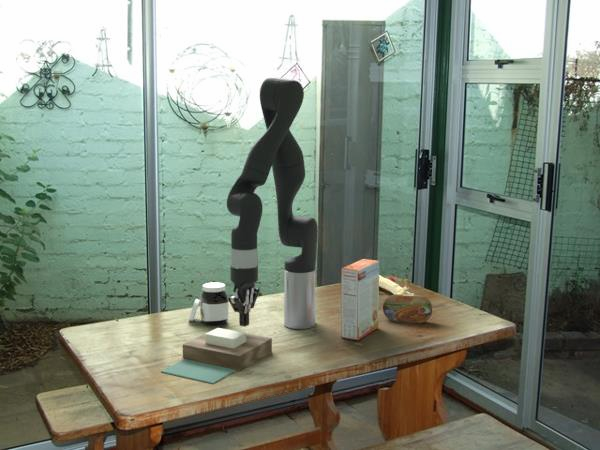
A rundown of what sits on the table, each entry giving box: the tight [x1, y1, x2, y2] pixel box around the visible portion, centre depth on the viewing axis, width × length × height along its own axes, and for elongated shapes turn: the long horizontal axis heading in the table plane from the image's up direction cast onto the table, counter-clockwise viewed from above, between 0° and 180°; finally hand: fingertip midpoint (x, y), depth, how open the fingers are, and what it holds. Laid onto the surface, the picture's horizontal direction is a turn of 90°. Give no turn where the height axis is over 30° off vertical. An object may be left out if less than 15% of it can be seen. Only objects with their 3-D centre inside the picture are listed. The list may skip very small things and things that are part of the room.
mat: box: [160, 359, 237, 385], centre depth 200 cm, size 10×16×1 cm, turn 62°
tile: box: [204, 327, 247, 348], centre depth 210 cm, size 6×9×2 cm, turn 62°
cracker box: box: [340, 258, 380, 341], centre depth 229 cm, size 14×6×21 cm, turn 149°
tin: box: [382, 294, 433, 324], centre depth 242 cm, size 15×3×8 cm, turn 76°
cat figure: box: [379, 274, 415, 295], centre depth 274 cm, size 10×9×25 cm
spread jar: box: [188, 281, 230, 326], centre depth 240 cm, size 12×11×12 cm
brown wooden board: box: [182, 331, 273, 372], centre depth 211 cm, size 16×18×4 cm
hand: (244, 325), depth 217 cm, fingers closed
